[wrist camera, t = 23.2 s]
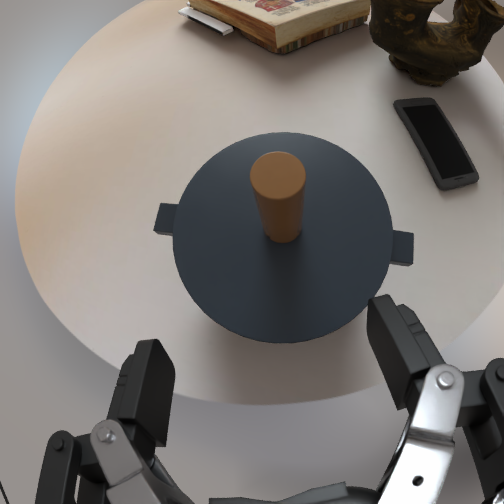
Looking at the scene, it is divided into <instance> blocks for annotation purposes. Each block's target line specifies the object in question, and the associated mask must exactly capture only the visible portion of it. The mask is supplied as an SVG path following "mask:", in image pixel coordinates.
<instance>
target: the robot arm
mask: <svg viewBox="0 0 504 504" xmlns="http://www.w3.org/2000/svg"><path fill="white" fill-rule="evenodd" d="M367 336H368V340H369V343H370V345H371V347H372V350H373V352H374V354H375V356H376V359H377V361H378V363H379V366H380V368H381V371H382V373H383V375H384V378H385V380H386V383H387V385H388V388H389V390H390V392H391V395H392V398H393V400H394V402H395V405H396V408H397V410H401V409H404V408H407V410H408V413H409V417H408V419H407V422H406V425H405V427H404V430H403V433H402V435H401V438H400V441H399V443H398V445H397V448H396V450H395V453H394V455H393V457H392V460H391V461H390V463H389V465H388V467H387V469H386V471H385V473H384V475H383V477H382V479H381V481H380V483H379V485H378V487H377V489H376V491H375V490H372V489H368V488H363V487H353V486H351V487H350V486H348V487H346V483H345V482H341V483H337V484H332V485H328V486H323V487H318V488H313V489H310V490H307V491H305V492H302V493H300V494H297V495H295V496H292V497H289V498H287V499H284V500H281V501H277V502H271V501H263V500H255V499H249V498H242V497H236V498H209V504H435V503H436V501H437V498H438V496H439V493H440V491H441V488H442V485H443V483H444V480H445V477H446V474H447V471H448V468H449V465H450V462H451V459H452V456H453V452H454V447H455V442H454V441H453V434H454V431H455V427H461V426H462V427H463V430H464V433H465V436H466V439H467V441H468V444H469V447H470V450H471V453H472V456H473V459H474V462H475V465H476V469H477V472H478V475H479V479H480V482H481V486H482V489H483V493H484V497H485V500H484V501H483V502H482V504H504V358H496V359H494V360H492V361H491V362H489V364H488V365H487V367H486V369H485V370H477V371H468V372H462V371H460V370H458V369H457V368H456V367H454V366H452V365H449V364H446V363H445V362H444V360H443V358H442V356H441V355H440V353H439V351H438V349H437V348H436V346H435V344H434V343H433V341H432V339H431V338H430V336H429V335H428V333H427V332H426V331H425V328H424V327H423V325H422V323H420V320H419V319H418V317H417V316H416V314H415V313H414V311H413V310H411V309H410V308H408V307H407V306H405V305H404V304H401V305H398V306H396V305H395V303H394V301H393V300H392V298H391V297H390V295H388V294H385V295H382V296H378V297H374V298H370V299H369V300H368V311H367ZM174 383H175V368H174V365H173V363H172V361H171V359H170V358H169V356H168V354H167V353H166V351H165V349H164V348H163V346H162V344H161V343H160V341H159V340H158V339H150V340H141V341H138V343H137V345H136V348H135V352H134V354H132V355H129V356H128V358H127V359H126V360H125V362H124V363H123V364H122V367H121V370H120V374H119V378H118V380H117V386H116V387H115V390H114V394H113V397H112V401H111V405H110V408H109V412H108V416H107V419H106V420H103V421H101V422H99V423H98V424H97V425H96V426H95V427H94V428H93V430H92V432H91V433H90V434H85V435H81V436H77V437H74V436H72V435H71V434H70V433H68V432H67V431H64V430H61V431H57V432H56V433H54V434H53V435H52V436H51V437H50V439H49V441H48V444H47V447H46V452H45V456H44V460H43V464H42V469H41V473H40V478H39V483H38V488H37V494H36V500H35V504H76V502H75V499H74V494H75V487H76V480H77V475H79V476H81V477H80V484H79V491H78V498H77V504H194V502H192V500H191V499H190V498H189V497H188V496H186V495H185V494H184V493H183V492H182V491H181V490H180V489H179V487H178V486H177V485H176V483H175V482H174V481H173V479H172V478H171V476H170V475H169V474H168V472H167V471H166V469H165V468H164V466H163V465H162V464H161V462H160V460H159V459H158V457H157V456H156V455H155V447H166V441H167V433H168V425H169V417H170V410H171V403H172V396H173V389H174ZM0 489H1V491H2V494H3V496H4V499H5V501H6V504H9V502H8V499H7V497H6V495H5V492H4V490H3V487H2V484H1V482H0Z"/></svg>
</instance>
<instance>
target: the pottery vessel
mask: <svg viewBox="0 0 504 504" xmlns="http://www.w3.org/2000/svg"><path fill="white" fill-rule="evenodd" d="M443 1H444V0H371V20H370V22H369V32H370V35H371V37H372V39H373V42H374V43H375V44H376V45H378V46H379V47H381V48H382V49H384V50H385V51H386V52H388V53H389V54H390V55H389V59H390V61H392V62H393V63H395V66H396V68H398V69H406V70H408V71H409V72H410V76H411V77H412V78H413V79H414V80H415V81H416V82H417V83H419V84H423V85H432V86H439V87H441V86H442V85H443V84H444V83H445V82H446V81H447V80H449V79H451V78H452V77H455V76H457V75H459V72H461V71H465V70H469V67H471V66H474V65H476V64H477V63H479V62H480V61H481V59H482V55H483V53H484V50H485V48H486V47H487V45H488V43H489V42H490V40H491V38H492V36H493V34H494V33H496V32H497V31H498V30H500V29H501V28H502V27H503V25H504V7H502V6H500V5H498V4H497V3H496V2H495V1H492V0H456V1H455V4H454V10H453V15H454V19H453V21H452V22H450V23H437V22H428V21H427V20H428V18H429V16H430V13H431V11H432V9H433V8H434V7H435V6H436V5H438V4H441V3H442V2H443ZM419 72H421V73H419Z"/></svg>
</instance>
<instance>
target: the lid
mask: <svg viewBox="0 0 504 504" xmlns="http://www.w3.org/2000/svg"><path fill="white" fill-rule="evenodd" d="M392 248H393V227H392V220H391V215H390V211H389V207H388V204H387V201H386V199H385V197H384V194H383V192H382V190H381V188H380V187H379V185H378V183H377V182H376V180H375V179H374V177H373V176H372V175H371V174H370V172H369V171H368V170H367V169H366V168H365V167H364V166H363V165H362V164H361V163H360V162H359V161H358V160H357V159H356V158H355V157H353V156H352V155H351V154H350V153H348V152H347V151H345V150H344V149H342V148H340V147H339V146H337V145H335V144H333V143H330V142H328V141H326V140H324V139H321V138H317V137H314V136H311V135H305V134H300V133H289V132H278V133H268V134H261V135H257V136H253V137H249V138H246V139H244V140H241V141H239V142H236V143H234V144H232V145H230V146H228V147H227V148H225V149H223V150H222V151H220V152H219V153H217V154H216V155H214V156H213V157H212V158H211V159H210V160H208V161H207V162H206V163H205V164H204V165H203V166H202V167H201V168H200V169H199V171H198V172H197V173H196V174H195V175H194V177H193V178H192V179H191V181H190V182H189V184H188V185H187V187H186V189H185V191H184V193H183V195H182V197H181V199H180V202H179V205H178V207H177V211H176V215H175V219H174V226H173V252H174V257H175V263H176V266H177V269H178V272H179V275H180V278H181V280H182V282H183V284H184V286H185V288H186V290H187V291H188V293H189V294H190V296H191V297H192V299H193V300H194V302H195V303H196V304H197V305H198V306H199V307H200V308H201V309H202V310H203V312H204V313H206V314H207V315H208V316H209V317H210V318H212V319H213V320H214V321H215V322H216V323H218V324H220V325H221V326H223V327H224V328H226V329H228V330H229V331H232V332H234V333H236V334H238V335H241V336H243V337H246V338H250V339H253V340H257V341H262V342H269V343H296V342H303V341H308V340H312V339H315V338H319V337H322V336H324V335H327V334H329V333H331V332H333V331H335V330H337V329H339V328H341V327H342V326H344V325H345V324H347V323H348V322H350V321H351V320H352V319H354V318H355V317H356V316H357V315H358V314H359V313H361V312H362V311H363V310H364V308H365V307H366V306H367V305H368V300H369V299H370V298H374V296H375V295H376V293H377V292H378V290H379V288H380V287H381V285H382V283H383V280H384V278H385V276H386V274H387V271H388V267H389V264H390V261H391V255H392Z"/></svg>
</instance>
